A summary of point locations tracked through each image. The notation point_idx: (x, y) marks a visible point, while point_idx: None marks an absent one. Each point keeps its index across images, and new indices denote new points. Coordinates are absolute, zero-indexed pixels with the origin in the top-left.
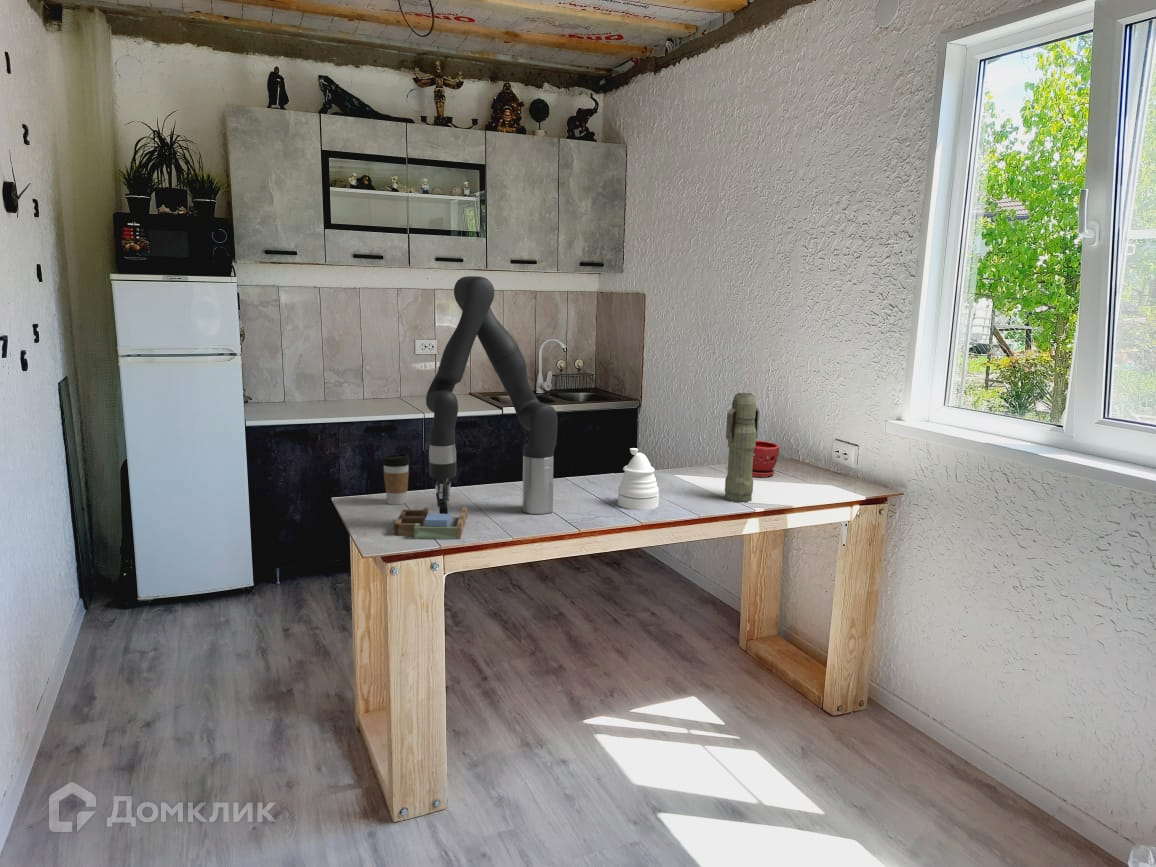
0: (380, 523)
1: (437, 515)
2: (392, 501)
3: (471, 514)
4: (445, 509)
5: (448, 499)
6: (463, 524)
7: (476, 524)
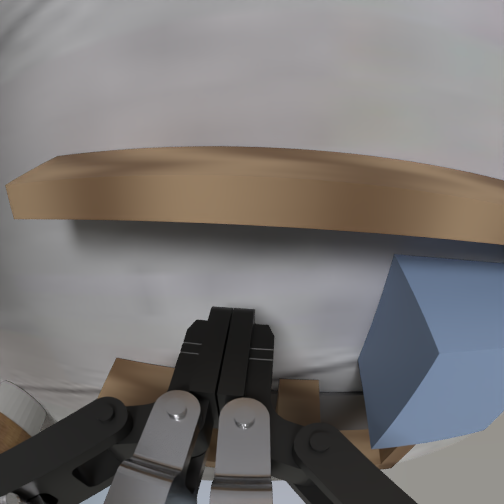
0: None
1: (439, 411)
2: (42, 419)
3: (4, 140)
4: (267, 392)
5: (119, 425)
6: (367, 164)
7: (229, 43)
